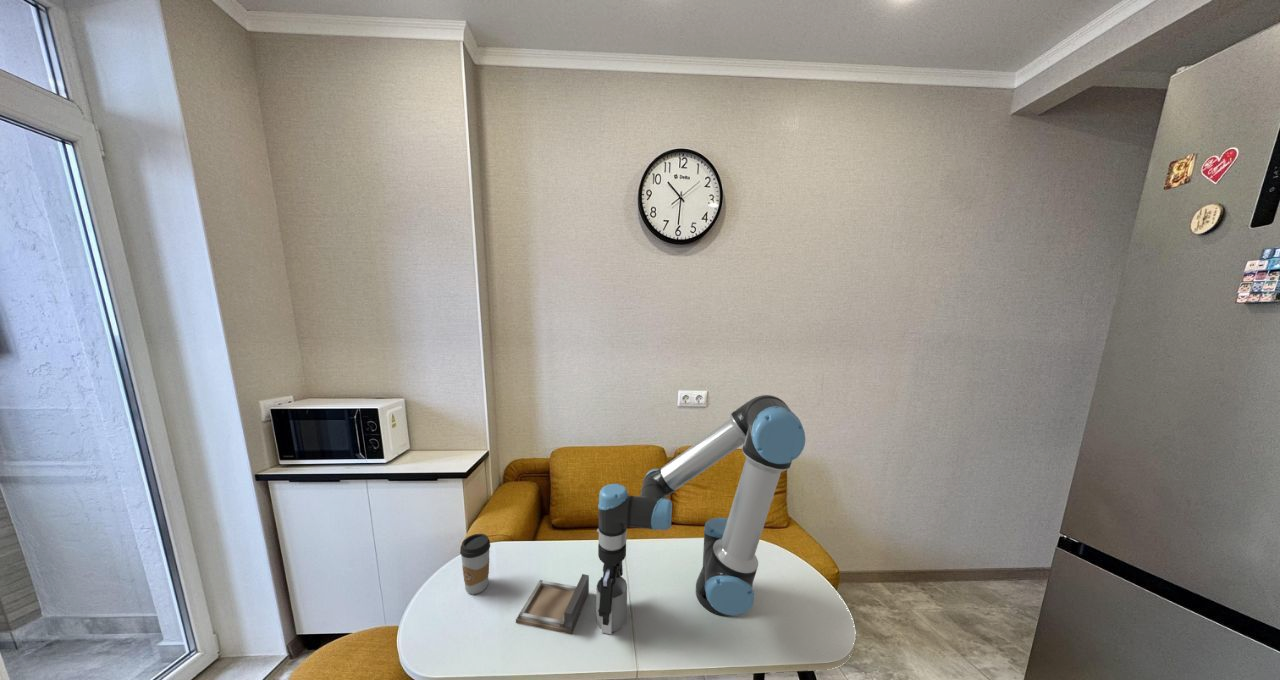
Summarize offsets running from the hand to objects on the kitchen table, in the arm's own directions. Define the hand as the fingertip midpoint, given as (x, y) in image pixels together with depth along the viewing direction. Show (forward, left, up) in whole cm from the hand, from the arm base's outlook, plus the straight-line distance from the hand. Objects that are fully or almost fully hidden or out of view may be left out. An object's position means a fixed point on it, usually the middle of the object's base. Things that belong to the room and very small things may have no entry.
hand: (611, 617), depth 105 cm
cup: (0, 0, 0) cm, 0 cm away
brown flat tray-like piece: (+17, 0, 0) cm, 17 cm away
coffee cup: (+43, -2, 0) cm, 43 cm away
